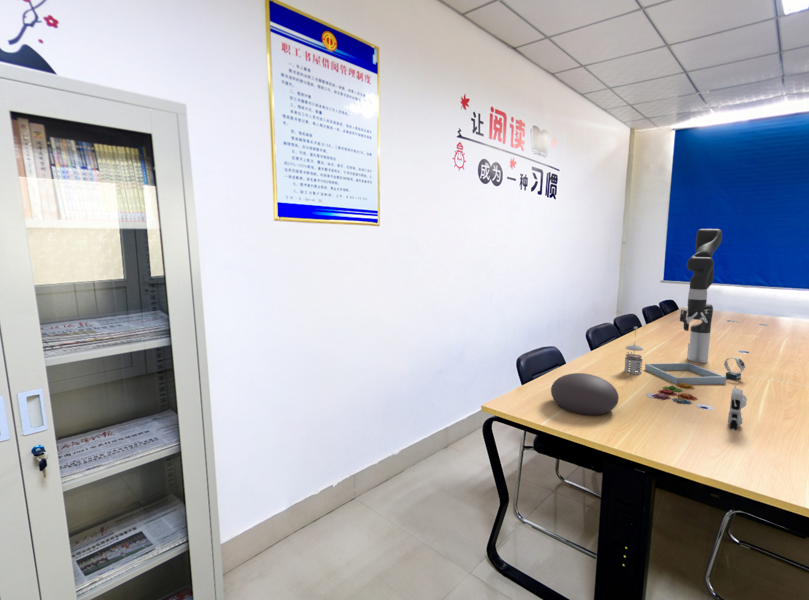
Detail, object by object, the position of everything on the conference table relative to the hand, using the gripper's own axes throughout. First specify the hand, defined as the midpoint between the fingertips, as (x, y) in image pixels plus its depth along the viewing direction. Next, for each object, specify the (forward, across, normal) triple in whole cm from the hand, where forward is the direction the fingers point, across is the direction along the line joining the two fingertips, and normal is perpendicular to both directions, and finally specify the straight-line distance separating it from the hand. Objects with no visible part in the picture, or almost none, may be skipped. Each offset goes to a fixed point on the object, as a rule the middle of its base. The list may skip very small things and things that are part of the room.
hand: (694, 330), depth 207 cm
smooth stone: (+22, +74, +42) cm, 88 cm away
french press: (+24, +28, -4) cm, 37 cm away
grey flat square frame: (+24, +6, +2) cm, 24 cm away
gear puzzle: (+24, +24, +27) cm, 43 cm away
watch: (+24, -17, +6) cm, 30 cm away
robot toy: (+22, +28, +61) cm, 70 cm away
